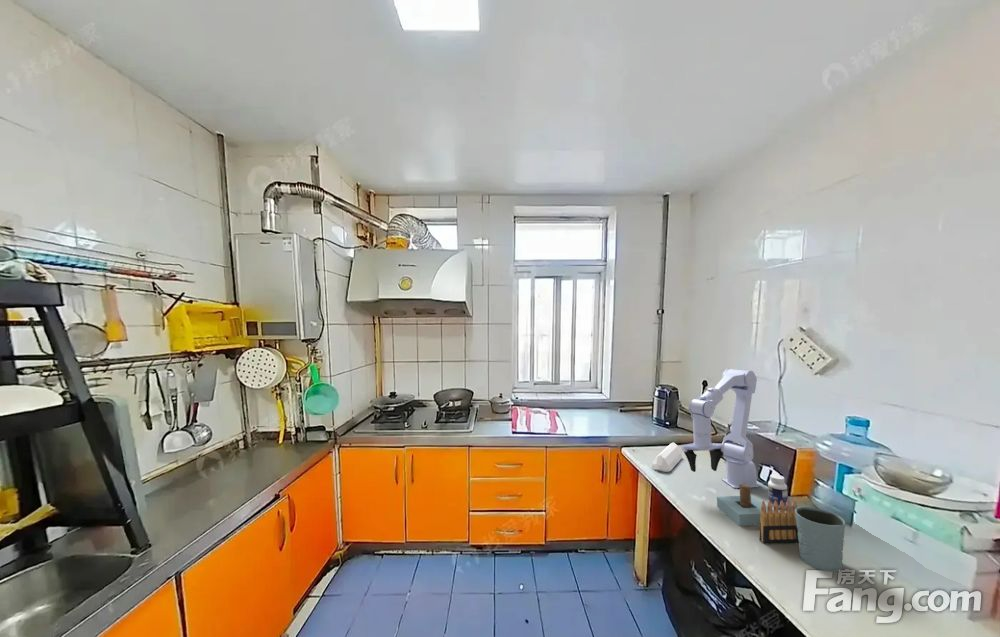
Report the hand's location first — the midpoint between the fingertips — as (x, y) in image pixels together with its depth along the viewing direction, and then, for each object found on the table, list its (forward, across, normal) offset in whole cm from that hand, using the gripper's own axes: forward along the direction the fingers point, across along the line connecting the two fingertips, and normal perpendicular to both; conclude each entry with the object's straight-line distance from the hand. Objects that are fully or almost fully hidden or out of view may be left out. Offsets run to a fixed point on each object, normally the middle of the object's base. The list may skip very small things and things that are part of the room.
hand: (703, 470), depth 138 cm
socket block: (+9, +6, -14) cm, 18 cm away
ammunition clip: (+10, +6, -29) cm, 31 cm away
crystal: (+10, +1, +32) cm, 33 cm away
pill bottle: (+10, +21, -8) cm, 24 cm away
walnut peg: (+9, +6, -14) cm, 18 cm away
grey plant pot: (+10, +10, -38) cm, 40 cm away
